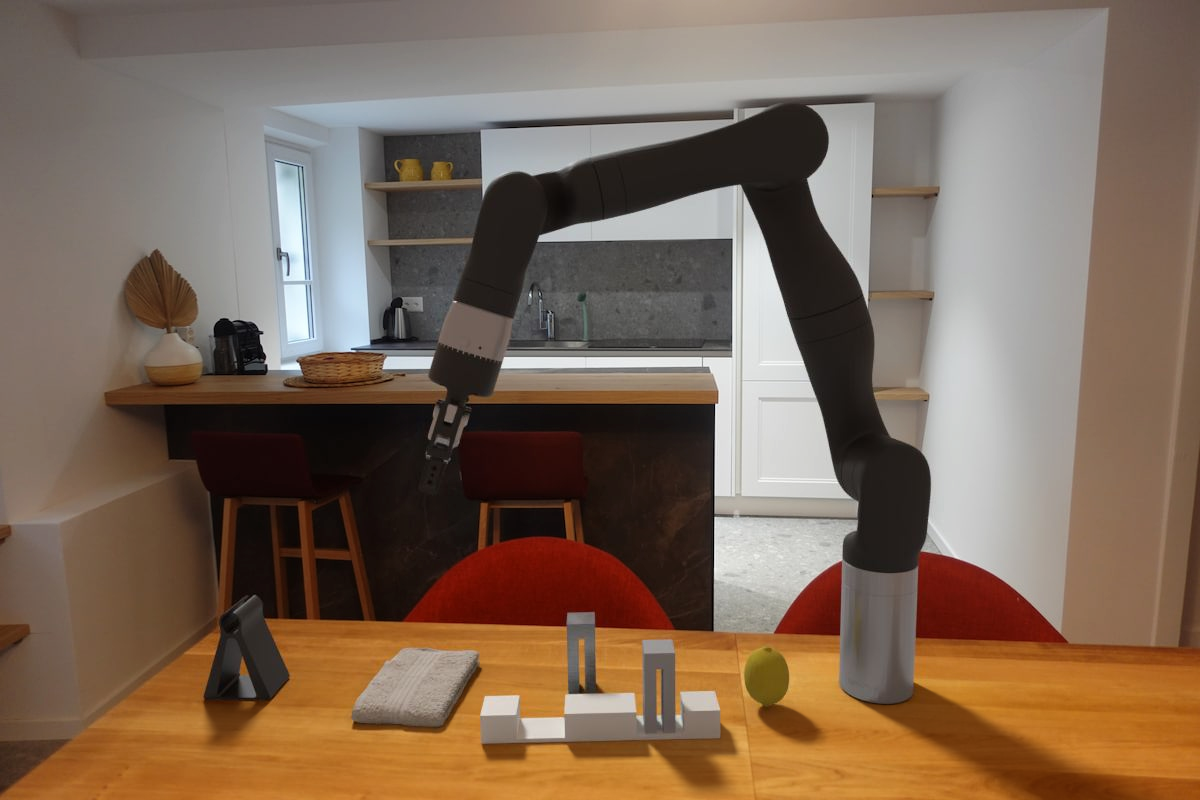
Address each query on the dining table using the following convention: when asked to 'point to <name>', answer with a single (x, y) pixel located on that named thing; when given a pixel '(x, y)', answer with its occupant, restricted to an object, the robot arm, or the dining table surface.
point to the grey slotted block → (578, 629)
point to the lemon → (766, 676)
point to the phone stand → (245, 656)
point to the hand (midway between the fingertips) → (430, 484)
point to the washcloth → (416, 687)
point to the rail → (611, 711)
